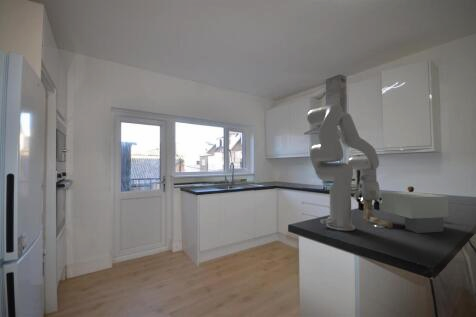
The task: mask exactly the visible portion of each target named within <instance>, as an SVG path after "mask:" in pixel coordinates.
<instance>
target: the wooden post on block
mask: <svg viewBox="0 0 476 317" xmlns="http://www.w3.org/2000/svg"><path fill="white" fill-rule="evenodd" d="M363 204H364V210H363V220H365V221H367V222H371V223H374V224H380V225H384V226H386V227H385V228H387V229H388V228H389V229H392V228H393V227H394V224H393V222H392V221H389V220H385V219H382V218H380V217H379V218H378V217H375V216H373V215H374V214H373V200H364V201H363Z"/></svg>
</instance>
